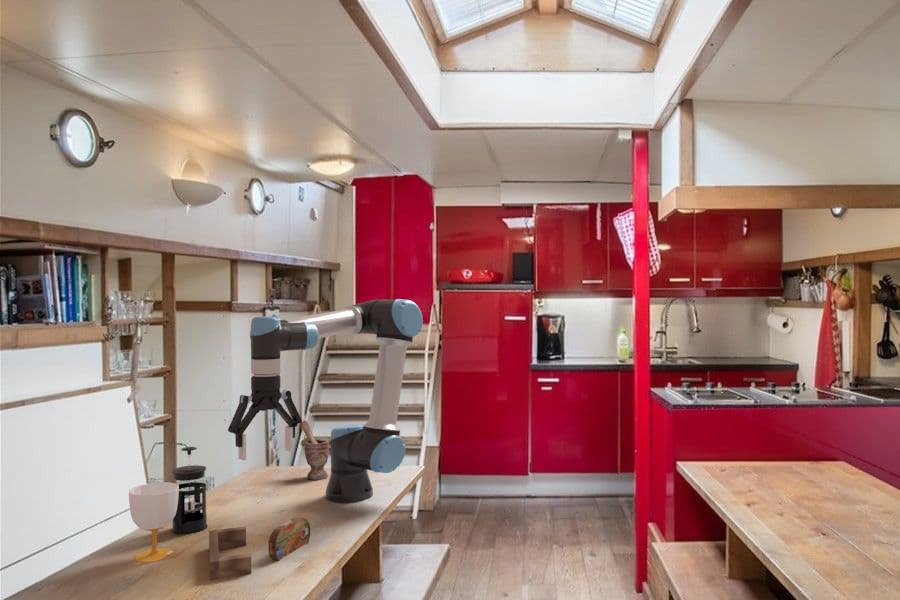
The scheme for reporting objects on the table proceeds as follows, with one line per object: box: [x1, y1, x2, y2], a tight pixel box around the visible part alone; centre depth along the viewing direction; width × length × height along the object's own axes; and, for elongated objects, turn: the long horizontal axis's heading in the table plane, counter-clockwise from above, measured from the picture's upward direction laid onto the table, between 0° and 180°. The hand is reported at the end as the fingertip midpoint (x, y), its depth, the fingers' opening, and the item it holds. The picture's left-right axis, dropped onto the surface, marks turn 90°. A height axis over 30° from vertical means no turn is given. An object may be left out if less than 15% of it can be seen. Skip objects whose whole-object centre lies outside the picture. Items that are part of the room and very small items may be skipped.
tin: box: [267, 517, 311, 562], centre depth 169 cm, size 15×3×8 cm, turn 159°
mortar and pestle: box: [299, 420, 330, 481], centre depth 242 cm, size 12×9×20 cm
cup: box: [128, 481, 180, 563], centre depth 169 cm, size 12×12×17 cm
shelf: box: [208, 525, 252, 581], centre depth 164 cm, size 9×22×5 cm, turn 20°
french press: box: [171, 446, 208, 535], centre depth 188 cm, size 12×9×23 cm
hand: (266, 454), depth 177 cm, fingers open, 13 cm apart
